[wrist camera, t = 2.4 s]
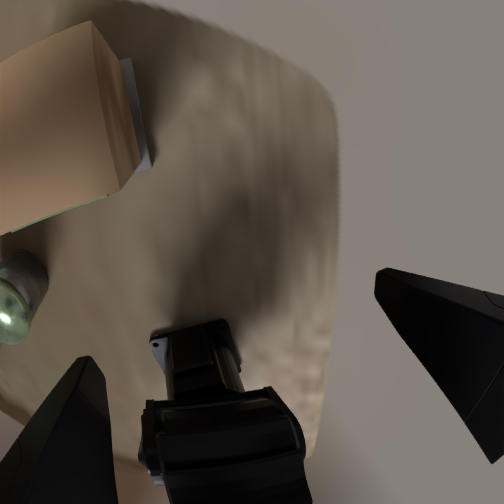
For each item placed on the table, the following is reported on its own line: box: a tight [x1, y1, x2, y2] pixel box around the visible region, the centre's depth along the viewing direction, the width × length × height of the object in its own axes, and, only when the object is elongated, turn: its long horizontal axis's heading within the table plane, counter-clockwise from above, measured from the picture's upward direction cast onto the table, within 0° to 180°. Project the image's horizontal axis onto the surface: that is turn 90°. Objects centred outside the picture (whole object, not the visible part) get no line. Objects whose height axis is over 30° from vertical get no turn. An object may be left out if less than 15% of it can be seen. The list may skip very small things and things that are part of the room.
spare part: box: [0, 249, 49, 344], centre depth 14 cm, size 5×5×5 cm
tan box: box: [0, 20, 152, 236], centre depth 10 cm, size 7×8×9 cm
